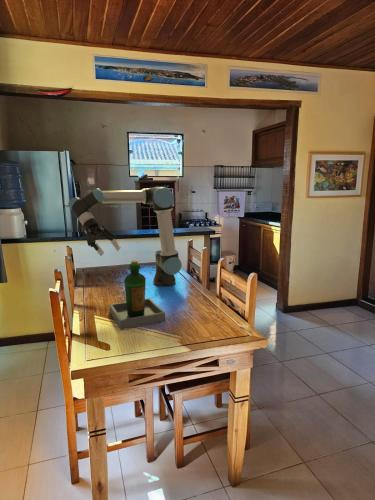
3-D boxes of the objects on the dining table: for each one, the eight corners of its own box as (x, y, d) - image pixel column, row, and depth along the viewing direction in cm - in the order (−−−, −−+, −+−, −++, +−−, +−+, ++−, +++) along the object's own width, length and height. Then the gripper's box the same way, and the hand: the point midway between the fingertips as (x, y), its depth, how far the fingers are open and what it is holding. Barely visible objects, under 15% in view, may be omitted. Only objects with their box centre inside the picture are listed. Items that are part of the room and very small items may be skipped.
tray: (150, 305, 177) (149, 297, 176) (165, 321, 157) (165, 312, 156) (109, 312, 167) (109, 304, 166) (120, 330, 148) (120, 321, 147)
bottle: (142, 319, 156) (141, 264, 150) (122, 317, 158) (119, 263, 152) (149, 311, 166) (148, 259, 160) (130, 309, 168) (128, 258, 162)
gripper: (100, 223, 187) (122, 251, 184) (67, 229, 166) (91, 261, 163) (107, 215, 184) (129, 243, 181) (74, 220, 162) (98, 252, 159)
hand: (111, 251), depth 172 cm, fingers open, 13 cm apart
